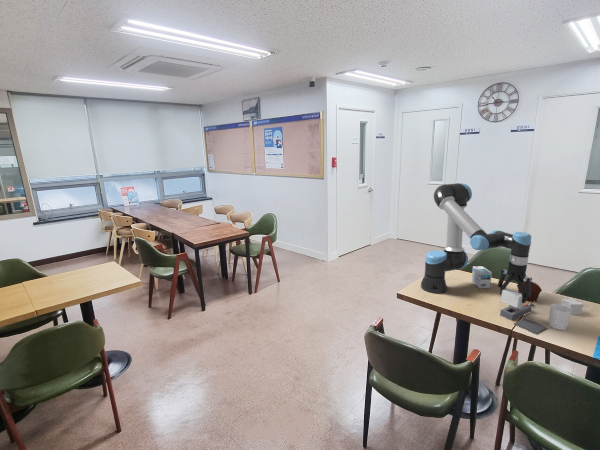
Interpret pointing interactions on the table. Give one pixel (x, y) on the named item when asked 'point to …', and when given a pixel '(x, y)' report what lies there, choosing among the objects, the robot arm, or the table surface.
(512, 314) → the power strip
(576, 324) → the table surface
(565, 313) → the white cup
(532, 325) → the mat
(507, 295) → the block
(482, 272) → the light bulb box
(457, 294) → the table surface
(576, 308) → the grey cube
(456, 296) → the table surface
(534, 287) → the muffin
